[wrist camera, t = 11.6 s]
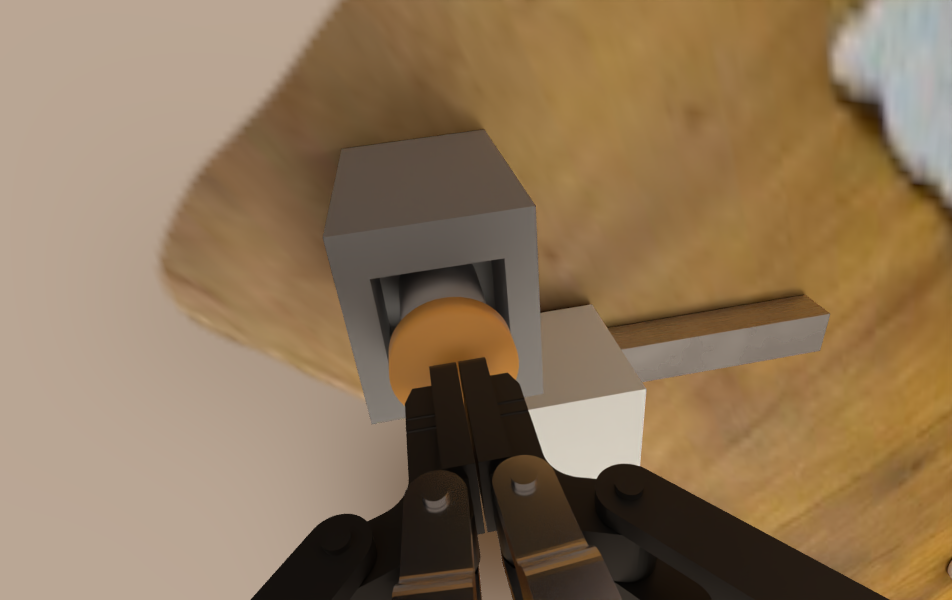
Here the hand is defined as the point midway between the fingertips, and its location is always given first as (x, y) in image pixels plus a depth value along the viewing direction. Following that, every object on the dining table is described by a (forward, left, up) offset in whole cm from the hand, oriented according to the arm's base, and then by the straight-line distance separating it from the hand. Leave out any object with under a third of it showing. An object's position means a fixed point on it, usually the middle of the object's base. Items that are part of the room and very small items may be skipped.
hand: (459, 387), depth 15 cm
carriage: (-5, +9, -12) cm, 16 cm away
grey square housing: (0, 0, -12) cm, 12 cm away
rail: (-11, +9, -12) cm, 19 cm away
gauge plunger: (0, 0, -6) cm, 6 cm away
